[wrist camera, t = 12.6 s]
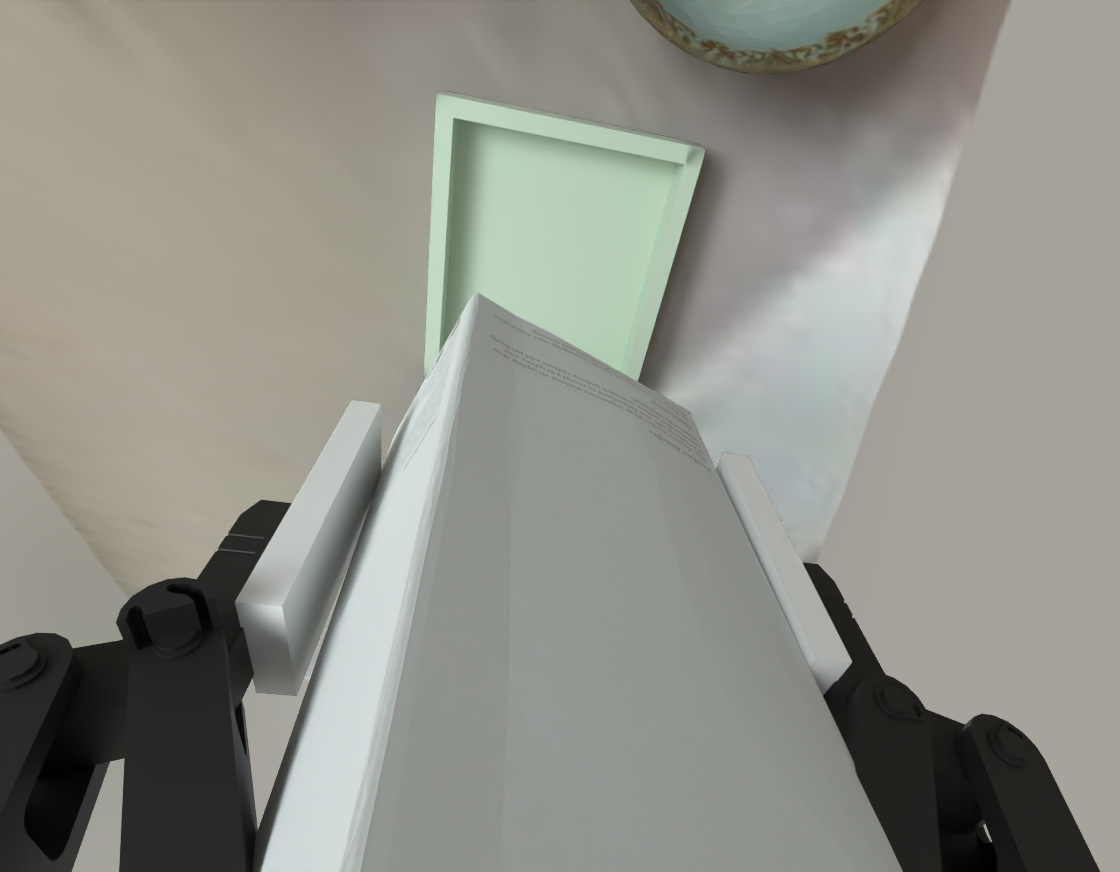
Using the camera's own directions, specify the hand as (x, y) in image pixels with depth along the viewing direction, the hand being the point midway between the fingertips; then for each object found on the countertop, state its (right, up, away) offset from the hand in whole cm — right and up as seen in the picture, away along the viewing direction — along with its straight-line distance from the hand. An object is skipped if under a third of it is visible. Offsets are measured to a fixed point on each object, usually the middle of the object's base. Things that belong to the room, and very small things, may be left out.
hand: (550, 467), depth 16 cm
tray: (0, +11, +15) cm, 19 cm away
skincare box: (0, +2, +2) cm, 3 cm away
